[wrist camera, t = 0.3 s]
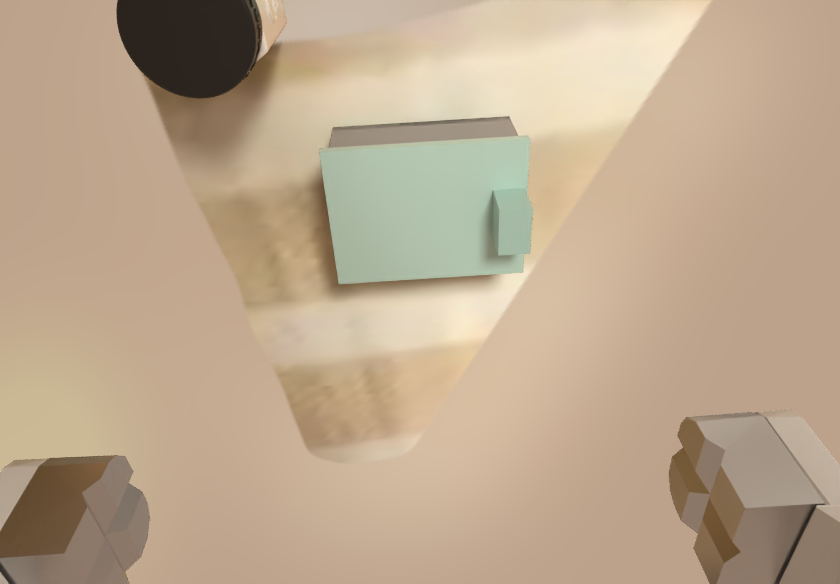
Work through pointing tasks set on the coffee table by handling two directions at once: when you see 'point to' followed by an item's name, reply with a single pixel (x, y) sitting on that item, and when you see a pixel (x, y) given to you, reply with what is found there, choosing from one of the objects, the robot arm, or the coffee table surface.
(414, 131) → the tub
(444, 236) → the lid
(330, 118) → the coffee table surface
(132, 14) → the jar
